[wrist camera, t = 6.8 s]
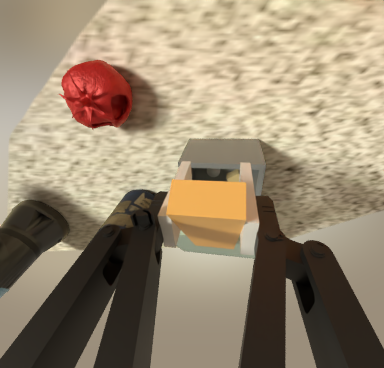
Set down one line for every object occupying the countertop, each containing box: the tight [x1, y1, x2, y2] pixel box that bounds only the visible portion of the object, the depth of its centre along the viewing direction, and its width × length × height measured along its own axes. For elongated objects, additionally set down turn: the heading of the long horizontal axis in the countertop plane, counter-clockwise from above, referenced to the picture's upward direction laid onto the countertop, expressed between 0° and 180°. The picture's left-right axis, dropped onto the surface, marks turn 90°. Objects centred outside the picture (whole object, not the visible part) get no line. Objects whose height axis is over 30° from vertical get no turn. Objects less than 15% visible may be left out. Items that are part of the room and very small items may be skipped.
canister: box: [88, 190, 155, 245], centre depth 39 cm, size 10×10×18 cm
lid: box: [166, 179, 255, 259], centre depth 23 cm, size 13×30×2 cm
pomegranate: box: [59, 60, 132, 129], centre depth 29 cm, size 10×10×9 cm
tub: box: [178, 139, 266, 196], centre depth 36 cm, size 12×18×9 cm, turn 3°
